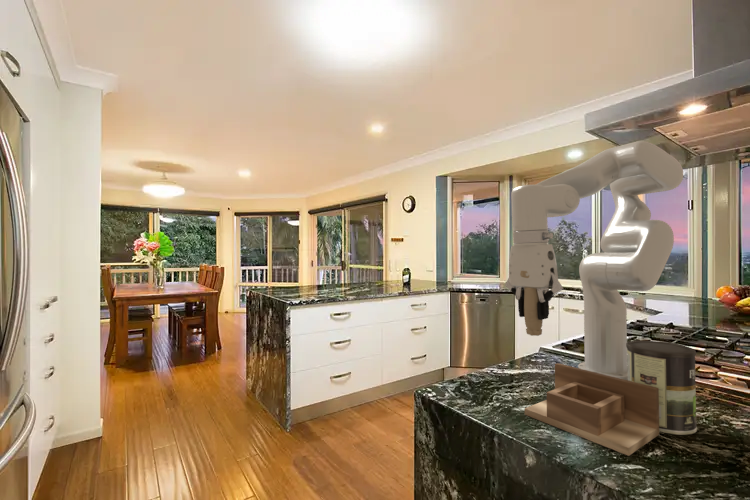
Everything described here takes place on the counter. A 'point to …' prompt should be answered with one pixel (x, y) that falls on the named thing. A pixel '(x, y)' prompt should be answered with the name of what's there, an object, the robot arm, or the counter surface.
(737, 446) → the counter surface
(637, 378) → the coffee can
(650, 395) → the wooden box holder
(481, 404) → the counter surface
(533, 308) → the handle
